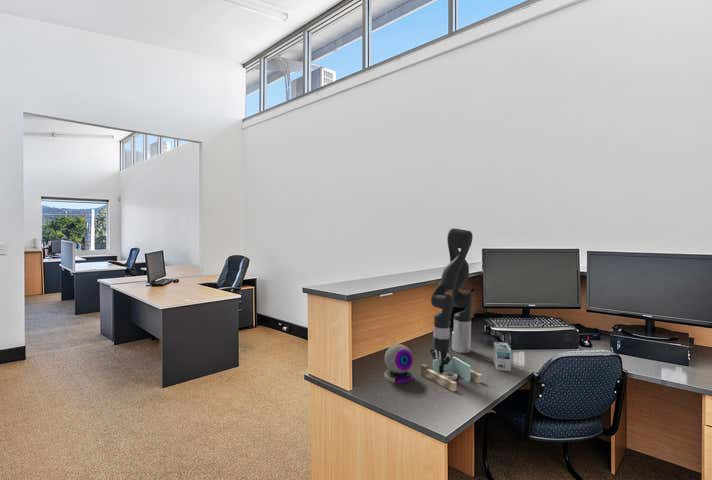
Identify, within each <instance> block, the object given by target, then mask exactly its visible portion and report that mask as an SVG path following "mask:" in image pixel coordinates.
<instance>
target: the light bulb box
mask: <svg viewBox="0 0 712 480" xmlns="http://www.w3.org/2000/svg"><path fill="white" fill-rule="evenodd" d="M493 364H494V367H495V369H496V371H503V372H504V371H505V372H511V371H512V348H511V347H510V345H509V344H508V342H502V341H501V342H500V341H493Z"/></svg>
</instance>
